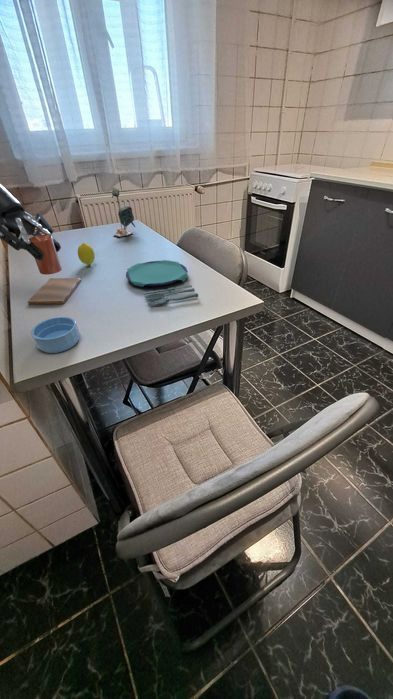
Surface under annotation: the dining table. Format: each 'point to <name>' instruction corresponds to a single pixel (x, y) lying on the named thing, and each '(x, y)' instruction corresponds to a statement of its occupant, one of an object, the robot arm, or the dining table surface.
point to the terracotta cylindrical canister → (46, 254)
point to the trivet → (55, 291)
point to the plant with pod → (123, 216)
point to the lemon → (86, 254)
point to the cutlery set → (159, 279)
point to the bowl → (56, 334)
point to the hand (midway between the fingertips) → (50, 253)
